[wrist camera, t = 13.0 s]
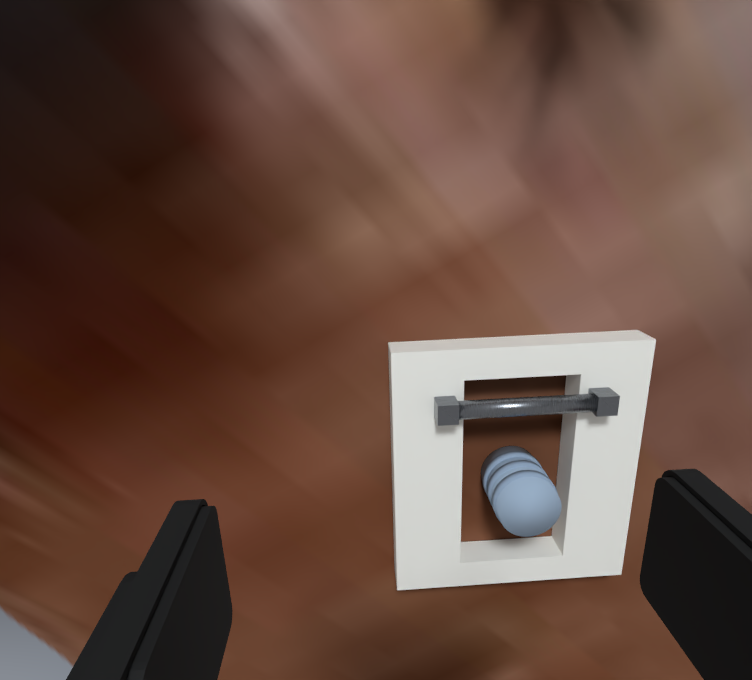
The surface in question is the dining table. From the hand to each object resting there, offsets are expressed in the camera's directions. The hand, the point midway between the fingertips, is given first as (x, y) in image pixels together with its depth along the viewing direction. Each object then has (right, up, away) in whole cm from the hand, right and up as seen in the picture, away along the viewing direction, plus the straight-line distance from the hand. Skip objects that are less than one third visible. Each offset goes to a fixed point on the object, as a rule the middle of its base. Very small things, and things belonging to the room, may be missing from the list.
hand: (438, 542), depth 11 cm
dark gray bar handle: (+10, 0, +28) cm, 30 cm away
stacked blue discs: (+10, -7, +33) cm, 35 cm away
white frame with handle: (+10, -6, +32) cm, 34 cm away
